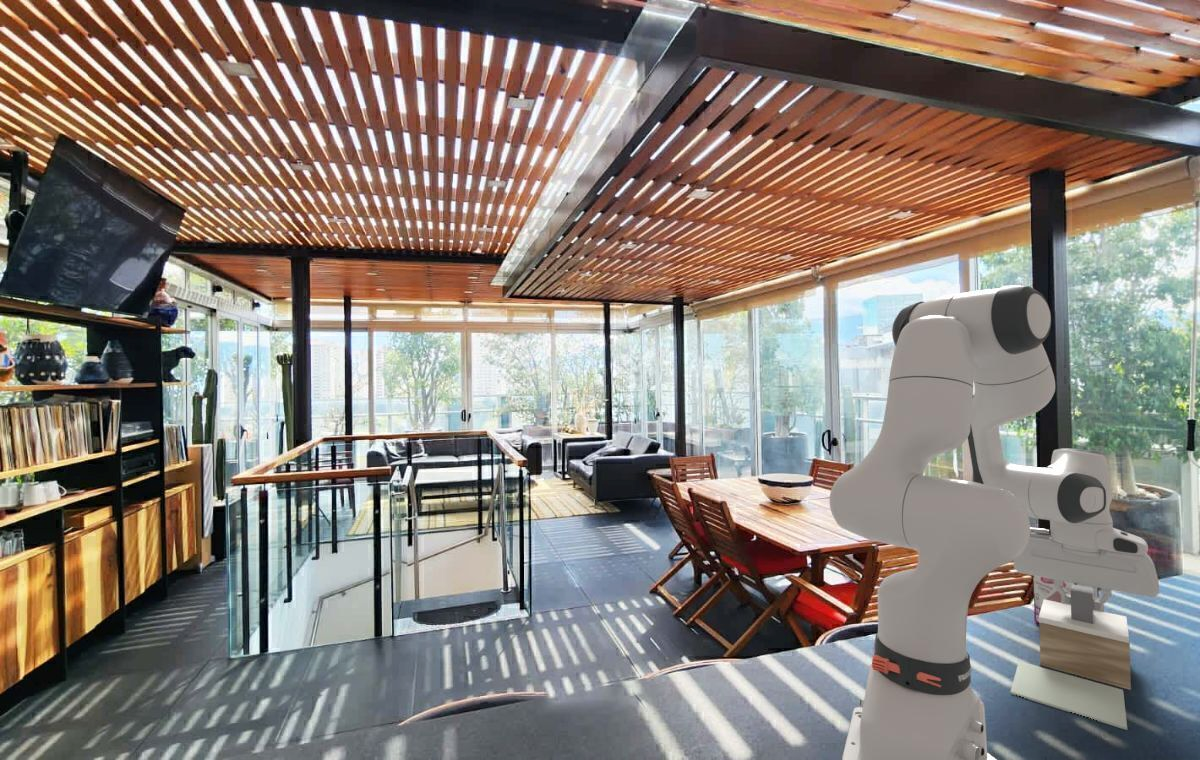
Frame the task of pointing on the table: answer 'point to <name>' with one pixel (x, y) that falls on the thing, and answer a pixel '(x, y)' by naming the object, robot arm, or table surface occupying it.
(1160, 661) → the table surface
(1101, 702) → the mat
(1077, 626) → the lid
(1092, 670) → the box
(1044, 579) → the candy bar box
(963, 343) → the robot arm
